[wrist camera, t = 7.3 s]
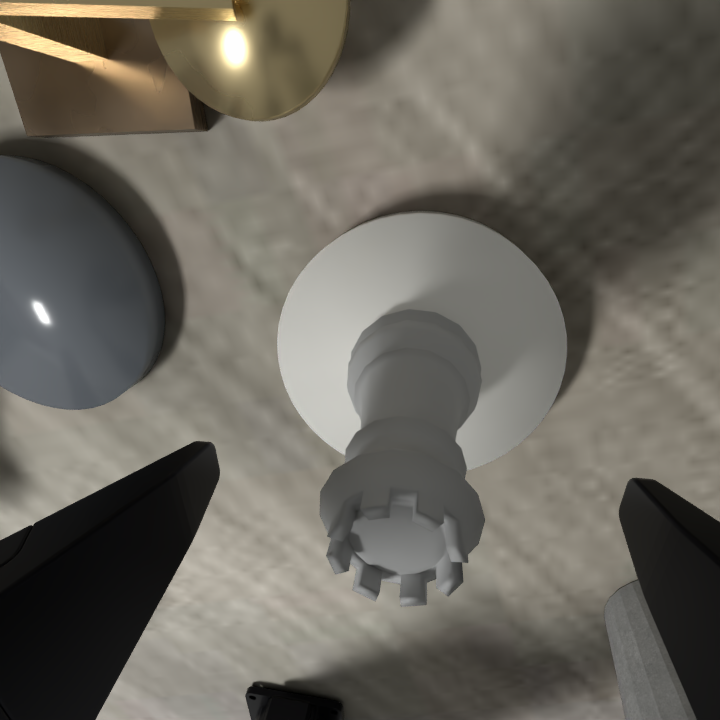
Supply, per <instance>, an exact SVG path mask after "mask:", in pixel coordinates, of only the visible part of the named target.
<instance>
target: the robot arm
mask: <svg viewBox="0 0 720 720" xmlns="http://www.w3.org/2000/svg"><path fill="white" fill-rule="evenodd" d="M219 476H220V468H219V464H218V459H217V454H216V449H215V446H214V444H213V443H211V442H202V441H195V442H193V443H191V444H189V445H187V446H185V447H183V448H181V449H179V450H177V451H175V452H173V453H171V454H169V455H167V456H165V457H163V458H161V459H159V460H157V461H155V462H153V463H152V464H150V465H148V466H146V467H144V468H142V469H140V470H138V471H136V472H134V473H132V474H130V475H128V476H126V477H124V478H122V479H120V480H118V481H116V482H114V483H112V484H110V485H108V486H106V487H104V488H103V489H101V490H99V491H97V492H95V493H93V494H91V495H89V496H87V497H85V498H83V499H81V500H79V501H77V502H75V503H73V504H71V505H69V506H67V507H65V508H63V509H61V510H59V511H57V512H55V513H54V514H52V515H50V516H48V517H46V518H44V519H42V520H40V521H38V522H36V523H35V524H34V525H33V526H32V525H30V526H28V527H26V528H24V529H22V530H20V531H18V532H16V533H14V534H12V535H10V536H8V537H6V538H4V539H2V540H0V720H95V719H96V718H97V716H98V714H99V712H100V710H101V708H102V707H103V705H104V703H105V701H106V699H107V697H108V696H109V694H110V692H111V690H112V688H113V686H114V685H115V683H116V681H117V679H118V677H119V675H120V674H121V672H122V670H123V668H124V666H125V664H126V663H127V661H128V659H129V657H130V655H131V653H132V652H133V650H134V648H135V646H136V644H137V642H138V641H139V639H140V637H141V635H142V633H143V631H144V630H145V628H146V626H147V624H148V622H149V620H150V619H151V617H152V615H153V613H154V611H155V609H156V608H157V606H158V604H159V602H160V600H161V598H162V597H163V595H164V593H165V591H166V589H167V587H168V586H169V584H170V582H171V580H172V578H173V576H174V575H175V573H176V571H177V569H178V567H179V565H180V564H181V562H182V560H183V558H184V556H185V554H186V553H187V551H188V549H189V547H190V545H191V543H192V541H193V539H194V537H195V535H196V533H197V530H198V528H199V526H200V523H201V521H202V519H203V516H204V514H205V511H206V509H207V507H208V504H209V502H210V499H211V497H212V495H213V492H214V490H215V488H216V485H217V483H218V480H219ZM619 518H620V522H621V526H622V529H623V532H624V535H625V539H626V542H627V545H628V548H629V552H630V555H631V558H632V561H633V564H634V568H635V571H636V574H637V577H638V581H639V584H640V587H641V590H642V592H643V595H644V598H645V600H646V603H647V605H648V608H649V610H650V612H651V615H652V617H653V619H654V622H655V624H656V626H657V629H658V631H659V633H660V636H661V638H662V640H663V643H664V645H665V647H666V650H667V652H668V654H669V657H670V659H671V661H672V664H673V666H674V668H675V671H676V673H677V675H678V678H679V680H680V682H681V685H682V687H683V689H684V692H685V694H686V696H687V699H688V701H689V703H690V706H691V708H692V710H693V713H694V715H695V717H696V720H720V522H719V521H717V520H716V519H714V518H713V517H711V516H710V515H708V514H706V513H705V512H703V511H702V510H700V509H699V508H697V507H696V506H694V505H693V504H691V503H690V502H688V501H687V500H685V499H683V498H682V497H680V496H679V495H677V494H676V493H674V492H673V491H671V490H670V489H668V488H667V487H665V486H664V485H662V484H660V483H659V482H657V481H656V480H653V479H643V478H632V479H630V480H629V481H628V483H627V486H626V489H625V492H624V495H623V498H622V501H621V504H620V508H619ZM246 700H247V704H248V708H249V712H250V716H251V720H344V716H343V706H342V704H341V703H339V702H337V701H333V700H327V699H322V698H316V697H310V696H305V695H299V694H293V693H288V692H282V691H276V690H271V689H265V688H259V687H253V686H251V687H249V688H248V690H247V693H246Z"/></svg>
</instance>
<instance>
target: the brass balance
mask: <svg viewBox="0 0 720 720" xmlns="http://www.w3.org/2000/svg"><path fill="white" fill-rule="evenodd" d="M349 18H350V0H0V53H1V56H2V59H3V62H4V65H5V68H6V71H7V75H8V78H9V81H10V84H11V87H12V90H13V93H14V96H15V100H16V103H17V106H18V109H19V112H20V115H21V118H22V121H23V125H24V128H25V131H26V134H27V136H33V137H45V138H52V137H77V136H101V135H126V134H151V133H176V132H201V131H207V125H206V118H205V112H204V106H203V103H205V104H206V105H207V106H209V107H211V108H213V109H215V110H216V111H218V112H220V113H223V114H226V115H229V116H232V117H235V118H239V119H244V120H249V121H270V120H276V119H280V118H283V117H286V116H288V115H290V114H292V113H295V112H297V111H298V110H300V109H301V108H303V107H304V106H306V105H307V104H308V103H309V102H310V101H311V100H312V99H314V98H315V97H316V96H317V94H318V93H319V92H320V91H321V90H322V89H323V87H324V86H325V85H326V83H327V82H328V80H329V78H330V77H331V75H332V74H333V72H334V70H335V68H336V66H337V64H338V61H339V59H340V56H341V53H342V50H343V48H344V44H345V40H346V36H347V32H348V25H349Z"/></svg>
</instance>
